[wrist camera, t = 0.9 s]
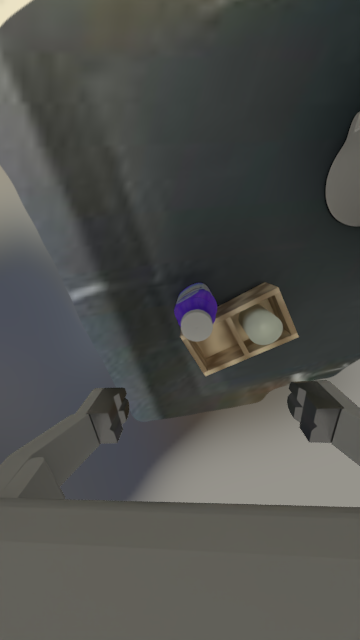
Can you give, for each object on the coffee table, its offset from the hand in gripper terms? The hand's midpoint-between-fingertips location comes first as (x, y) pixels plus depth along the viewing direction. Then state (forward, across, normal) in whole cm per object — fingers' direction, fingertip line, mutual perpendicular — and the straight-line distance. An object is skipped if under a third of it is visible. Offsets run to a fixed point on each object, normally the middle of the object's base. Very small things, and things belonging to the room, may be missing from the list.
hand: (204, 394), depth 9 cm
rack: (+30, -8, +9) cm, 33 cm away
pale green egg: (+29, -12, +7) cm, 32 cm away
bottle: (+31, 0, +2) cm, 31 cm away
